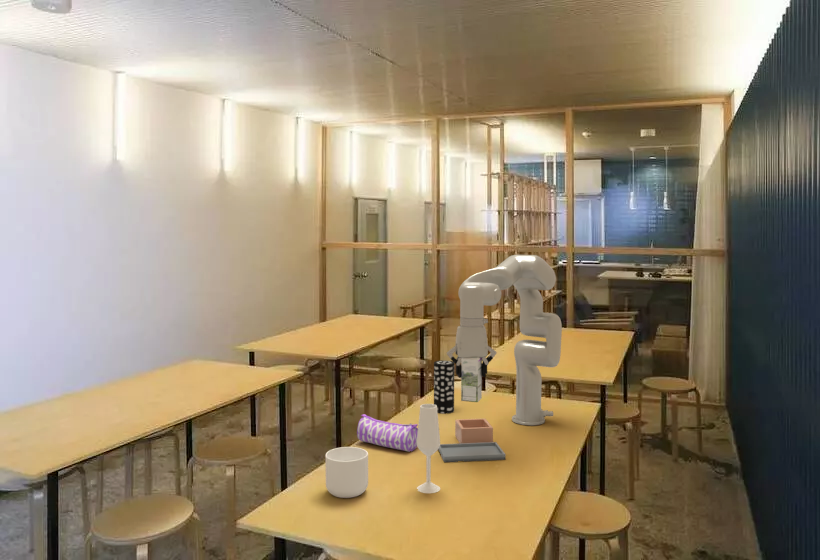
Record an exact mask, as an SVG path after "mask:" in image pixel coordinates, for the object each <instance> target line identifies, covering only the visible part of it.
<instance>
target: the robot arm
mask: <svg viewBox="0 0 820 560" xmlns="http://www.w3.org/2000/svg"><path fill="white" fill-rule="evenodd" d="M556 281H557V276H556V273H555V270H554V269H553V268H552V267H551V265H550V264H548V262H547V261H546V260H545V259H543V258H542V257H541V256H539V255H536V254H514V255H513V254H512V255H510V256H508V257H506V259H504V260H503V261H502V262H501V263H499V264H498V265H497V266H496V267H494V268H490V269H487V270H483V271H481V272H477V273H475V274H473V275H470V276H469V277H468V278H466V279H465V280H464V281H462V283H461V284H460V286H459V288H458V293H457V294H458V298H459V301H460V302H459V303H460V305H459V306H460V307H459V309H460V311H459V316H460V318H459V326H457V328H456V335H455V345H454V346H453V347H451V348H450V349H449V350H448V351H447V352H446V355H447V356H448V357H449V359H450V361H452V362H454V365H455V374H456V376H457V377H458V378H459V379H461V377H462V366H461V362H462V360H461V359H462V358H473V357H479V358H482V377H483V378H486V377H487V376H486V375H488V365H489V363H491V361H492V360H493V359H494V357H495V356H496V355H497V353H498V352H497V351H496V350H494V349H493V348H492V347H491V346H489V344H488V336H487V335H488V334H487V329H486V326H485V324H488V323H489V319H488V318H485V317H484V312H485V311H484V306H488V307H489V306H491V307H492V306H495V305H497V304H498V303H499V302H500V300H501V298H502V291H504V290H508V289H509V288H511V287H512V286H514V288H515V289H516V291H517V293H518V296H519V300H520V301H519V302H520V304H519V305H520V307H519V309H520V310H519V332H520V333H521V335H523V336H525V337H526V336H527V337H532V338H533V337H534V338H543V339H546V341H544V340H535V339H521V340H519V341H517V342H516V343H515V345H514V350H513V354H514V361H515V370H516V372H515V374H516V377H515V378H516V382H515V384H516V385H515V386H516V387H515V388H516V390H515V393H516V394H515V395H516V396H515V397H516V398H515V414H514V415H512V417H511V420H512V422H513V423H515V424H518V425H523V426H540V425H542V424H545V422H546V419H545V418H546V417H554V411H553V410H552V411H551V410H550V411H548V410H546V409H545V410H543V409H542V381H543V379H542V373H541V372H540V369H539V368H538V367H541V368H543V367H544V368H555V367H558V365H559V364H560V362H561V361H560V360H561V355H562V354H561V352H562V335H563V334H562V332H563V330H562V329H563V328H562V327H563V324H562V321H561V318H560V317H559V315H558V314H557V313H551V312H544V299H543V296H542V294H541V292H540V291H549V290H553V288H554V287H555V285H556ZM539 290H540V291H539ZM489 353H490V354H489ZM453 354H455V355H456V356H457V357H456V358H455V356H454V355H453ZM488 354H489V355H488Z"/></svg>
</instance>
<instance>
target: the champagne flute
mask: <svg viewBox="0 0 820 560" xmlns="http://www.w3.org/2000/svg"><path fill="white" fill-rule="evenodd" d="M418 416H419V417H418V426H417V428H418V436H417V449H418V450H419V452H421V453H422V454H423V455H425V456H426V457H425V458H426V478H425V479H426V481H425V482H424V483H422V484H420V485H418V486H417V487H416V489H418V490H417V492H420V493H423V494H435V493H437V492H439V491H440V490H441V487H440V486H439V485H437V484H435V483H433V482H432V480H431V472H432V471H431V461H432V460H431V459H432V457H431V456H433V455H434V454H435V453H436V452H437V451H438V449H439V447H440V444H441V437H440V427H439V426H440V424H439V423H440V422H439V413H438V412H437V405H434V403H423V404H420V406H419V415H418Z"/></svg>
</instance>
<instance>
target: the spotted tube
mask: <svg viewBox="0 0 820 560" xmlns="http://www.w3.org/2000/svg"><path fill="white" fill-rule="evenodd" d="M433 404H434V405H437V412H438V414H445V415H446V413H447V414H451V413H452V414H453V413H454V411H455V363H454V362H453V361H452V360H436V361H434V362H433Z"/></svg>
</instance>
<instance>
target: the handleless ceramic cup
mask: <svg viewBox="0 0 820 560" xmlns="http://www.w3.org/2000/svg"><path fill="white" fill-rule="evenodd" d="M324 457H325V488H326V490H327V491H328V493H329V494H331V495H332V496H334V497H337V498H341V499H343V498H344V499H349V498H350V499H351V498H356V497H358V496H360V495H362V494H363V493H364V492H366V490H367V488H368V486H369V452H368V451H367V450H366V449H363V448H361V447H355V446H341V447H336V448H333V449H329V450H328V451H327V452H325V456H324Z"/></svg>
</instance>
